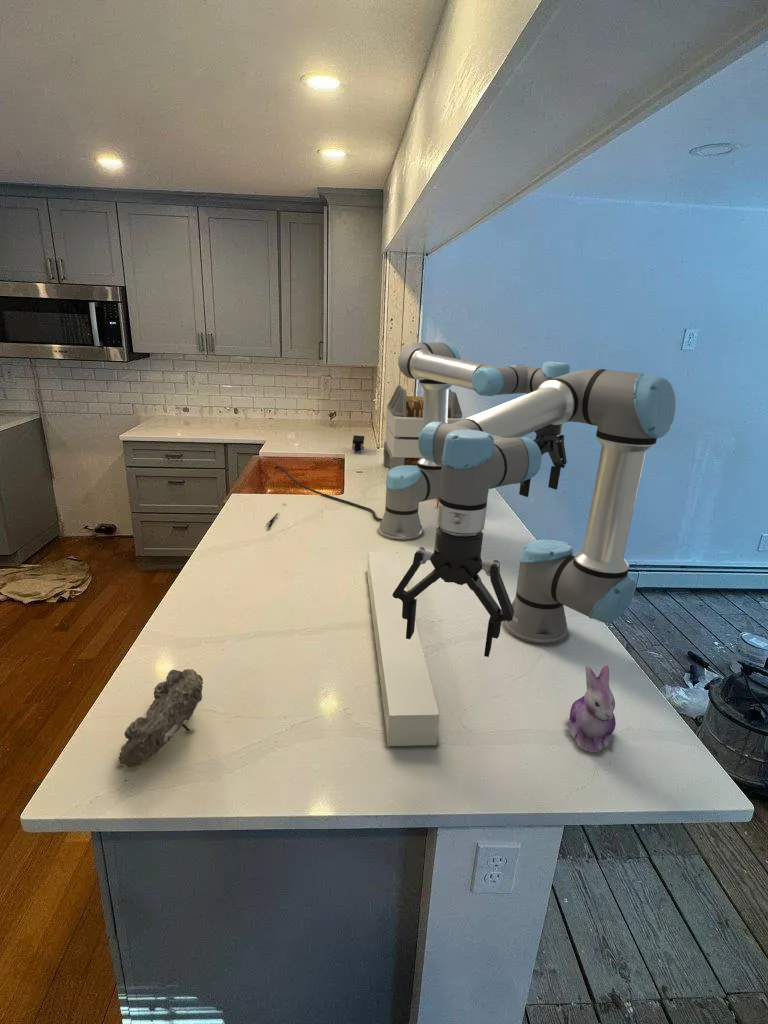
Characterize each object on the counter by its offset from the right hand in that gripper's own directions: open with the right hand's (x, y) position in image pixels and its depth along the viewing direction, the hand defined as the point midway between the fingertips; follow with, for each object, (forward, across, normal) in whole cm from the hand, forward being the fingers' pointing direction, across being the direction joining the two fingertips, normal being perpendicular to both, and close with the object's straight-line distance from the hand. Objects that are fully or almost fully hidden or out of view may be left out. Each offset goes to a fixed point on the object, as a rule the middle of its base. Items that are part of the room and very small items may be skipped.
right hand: (447, 643), depth 97 cm
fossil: (+21, -47, -15) cm, 54 cm away
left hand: (-6, +9, +80) cm, 81 cm away
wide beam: (+21, -18, +30) cm, 41 cm away
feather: (+20, -84, +92) cm, 126 cm away
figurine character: (+19, -93, +201) cm, 223 cm away
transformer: (+19, -51, +174) cm, 182 cm away
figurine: (+21, +27, +12) cm, 36 cm away
